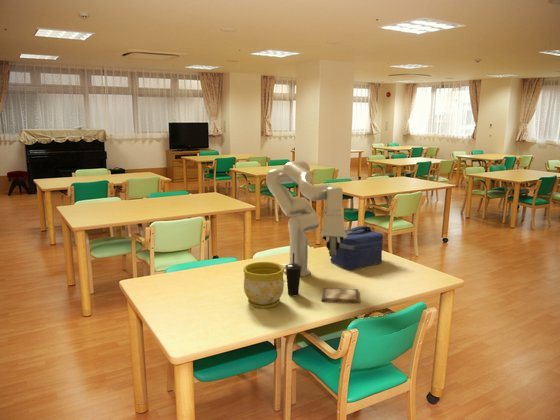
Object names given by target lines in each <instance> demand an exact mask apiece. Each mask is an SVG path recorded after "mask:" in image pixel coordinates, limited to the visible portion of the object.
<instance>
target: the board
mask: <svg viewBox="0 0 560 420" xmlns="http://www.w3.org/2000/svg"><path fill="white" fill-rule="evenodd" d="M321 289H322V290H321V302H326V303H327V302H328V303H343V304H345V303H346V304H347V303H348V304H360V303H361V301H360V293H359V289H357V288H342V287H341V288H340V287H339V288H338V287H336V288H335V287H322V288H321Z"/></svg>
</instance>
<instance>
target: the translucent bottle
mask: <svg viewBox="0 0 560 420" xmlns="http://www.w3.org/2000/svg"><path fill="white" fill-rule="evenodd" d="M336 244H337V237H329V250H328V255H329V257H330V258H331V257H335V256H336V251H337V250H336Z"/></svg>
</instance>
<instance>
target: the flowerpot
mask: <svg viewBox="0 0 560 420" xmlns="http://www.w3.org/2000/svg"><path fill="white" fill-rule="evenodd" d="M242 269H243V270H242V271H243V276H244V277H243V290H244V293H245V296H246V297H247V301H248V303H249V305H250V306H251V307H254V308H257V309H262V308H265V309H271V308H274V307H276V306H277V305H278V304H279V303H280V302H281V297H282V295H283V293H284V289H285V283H284V282H285V281H284V272H285V269H284V267H283V266H282V264H280V263H277V262H271V261H270V262H269V261H257V262H252V263H248V264H247V265H245V266H244V267H243V268H242Z"/></svg>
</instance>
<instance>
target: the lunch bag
mask: <svg viewBox="0 0 560 420" xmlns="http://www.w3.org/2000/svg"><path fill="white" fill-rule="evenodd" d="M371 228H372V227H371V226H364V225H360V226H355V227H352V228H350V229H346V230H345V229H344V230H345V232H346V234H347V237H346V238H344V239H343V240H342V241H340V243H339V248H338V251H336V256H335V257H331V256H330V263H331V264H333V265H336V266H338V267H341V268H343V269H346V270H357V269H361V268H366V267H369V266H373V265H379V264H382V261H383V260H382V258H383V255H382V254H383V244H384V234H383V233H382V232H377V231H376V230H372V229H371Z"/></svg>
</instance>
